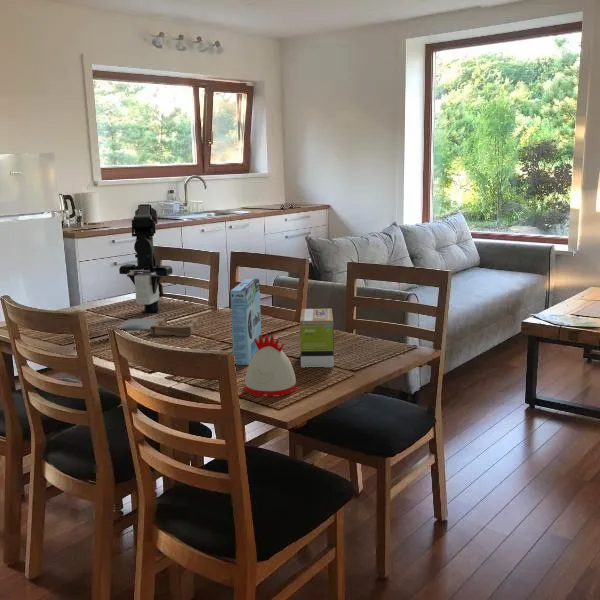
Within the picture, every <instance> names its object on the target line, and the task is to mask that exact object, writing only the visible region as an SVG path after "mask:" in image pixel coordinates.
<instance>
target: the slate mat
mask: <svg viewBox="0 0 600 600" xmlns="http://www.w3.org/2000/svg"><path fill="white" fill-rule="evenodd" d="M160 319H161V318H128V319H127V320H126V321H124V322H123V323H120V324H119V325H117V327H116V328H119V329H120V328H121V329H122V330H121V331H151V326H152V325H154V324H155V323H156V322H157V321H158V320H160ZM123 329H125V330H123Z"/></svg>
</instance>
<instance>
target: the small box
mask: <svg viewBox="0 0 600 600" xmlns="http://www.w3.org/2000/svg"><path fill="white" fill-rule="evenodd" d="M140 273H141V274H138V275H136V276H134V279H135V285H134V288H135V289H134V291H135V301H136V305H144V304H152V303H154V302H155V301H157V300H158V301H160V296H159V293H160V292H159V288H158V287H157V290H156V293H155V294H154V293H153V289H152V280H151V276H153V275H154V273H148V272H140Z"/></svg>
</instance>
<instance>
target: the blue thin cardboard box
mask: <svg viewBox="0 0 600 600" xmlns="http://www.w3.org/2000/svg"><path fill="white" fill-rule="evenodd" d="M260 288H261V287H260V278H245V279H243V280H242V281H241V282H240V283H239V284H237V285H236V286H235V287H234V288H232V289H231V290H230V291H229V292H230V313H231V315H230V318H231V335H232V336H231V338H232V344H231V345H232V355H233V354H234V356H235V363H236V365H235V366H249V363H250V362H249V361H250V360H251V359H252V358H253V356H254V355H255V354H256V352H257V351H259V349H258V347H257V345H256V343H255V341H254V339H255V338H256V339H257V341H258V342H259V335H260V334H261V335H262V320H261V317H262V316H261V292H260Z"/></svg>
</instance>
